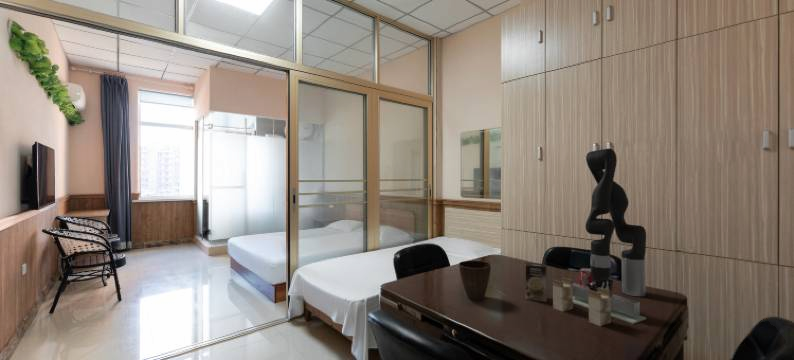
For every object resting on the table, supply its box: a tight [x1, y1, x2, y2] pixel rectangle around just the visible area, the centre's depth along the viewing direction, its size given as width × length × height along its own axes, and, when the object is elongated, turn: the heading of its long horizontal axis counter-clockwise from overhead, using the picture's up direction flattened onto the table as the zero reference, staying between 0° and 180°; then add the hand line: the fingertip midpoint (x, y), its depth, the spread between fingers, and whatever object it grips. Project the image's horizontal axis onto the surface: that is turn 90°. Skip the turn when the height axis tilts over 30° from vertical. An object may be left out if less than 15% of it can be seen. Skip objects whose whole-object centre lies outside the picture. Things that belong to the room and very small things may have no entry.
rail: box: [572, 282, 641, 316], centre depth 143 cm, size 4×28×5 cm, turn 27°
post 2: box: [588, 288, 612, 327], centre depth 129 cm, size 7×4×12 cm, turn 117°
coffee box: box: [525, 262, 548, 303], centre depth 156 cm, size 9×6×16 cm
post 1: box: [552, 277, 574, 313], centre depth 143 cm, size 7×4×12 cm, turn 117°
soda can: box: [578, 267, 594, 287], centre depth 160 cm, size 7×7×12 cm
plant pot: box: [458, 260, 492, 301], centre depth 158 cm, size 15×15×16 cm
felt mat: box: [573, 297, 647, 324], centre depth 143 cm, size 9×30×1 cm, turn 27°
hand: (601, 304), depth 143 cm, fingers closed on rail, 4 cm apart
